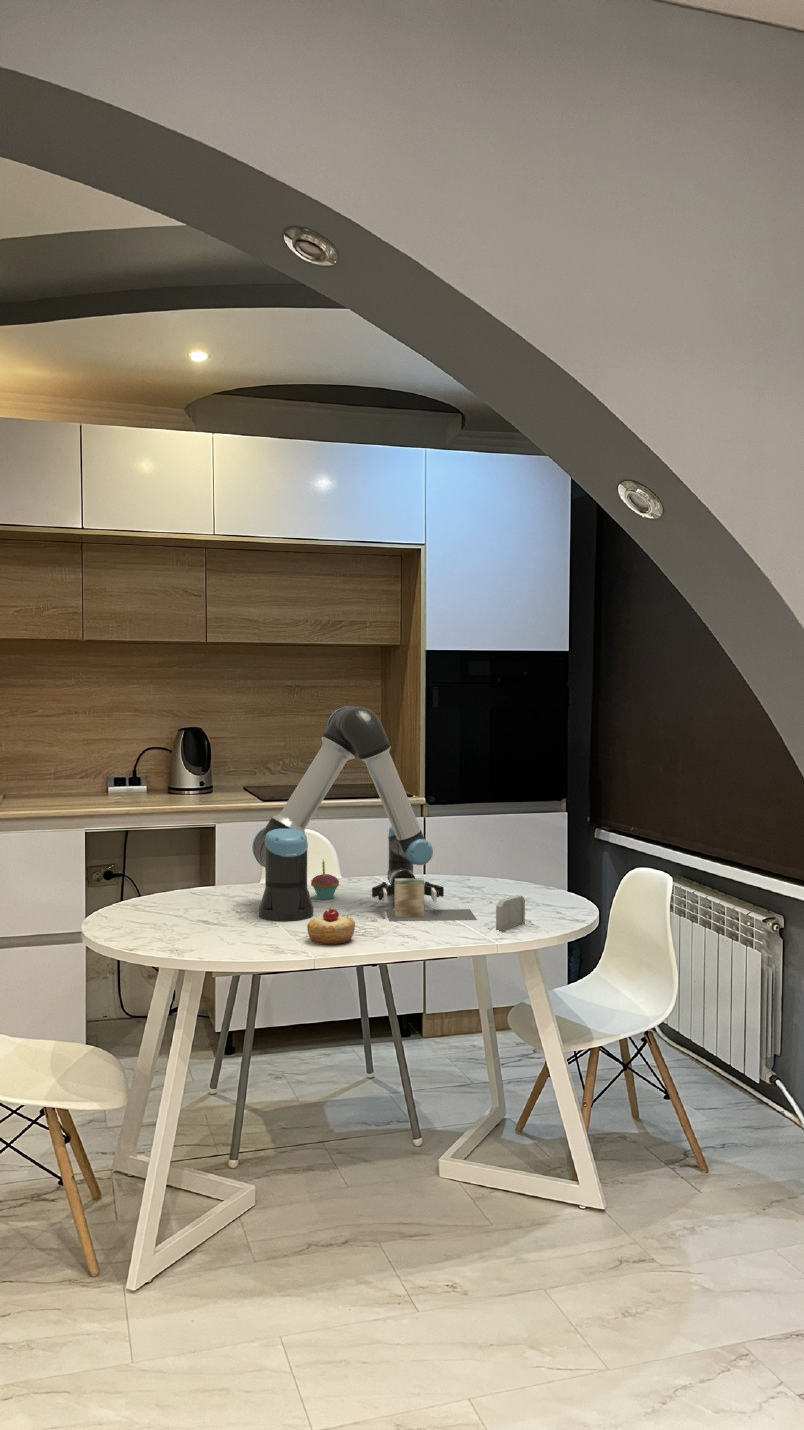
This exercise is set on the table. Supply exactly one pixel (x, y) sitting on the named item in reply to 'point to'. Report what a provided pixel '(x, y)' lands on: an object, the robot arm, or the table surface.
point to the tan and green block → (409, 897)
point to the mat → (436, 915)
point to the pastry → (331, 928)
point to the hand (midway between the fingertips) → (410, 897)
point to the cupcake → (325, 884)
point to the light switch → (510, 912)
